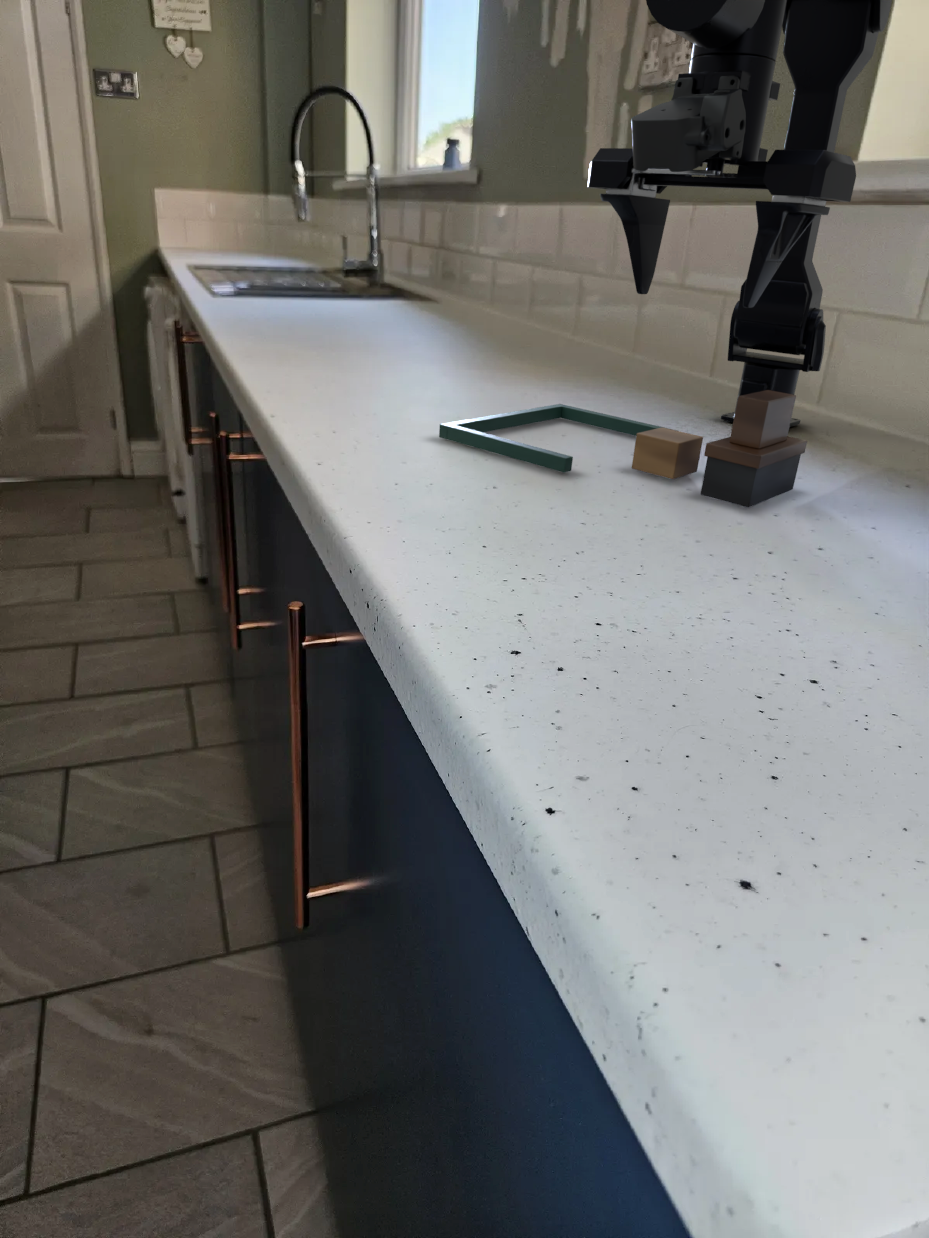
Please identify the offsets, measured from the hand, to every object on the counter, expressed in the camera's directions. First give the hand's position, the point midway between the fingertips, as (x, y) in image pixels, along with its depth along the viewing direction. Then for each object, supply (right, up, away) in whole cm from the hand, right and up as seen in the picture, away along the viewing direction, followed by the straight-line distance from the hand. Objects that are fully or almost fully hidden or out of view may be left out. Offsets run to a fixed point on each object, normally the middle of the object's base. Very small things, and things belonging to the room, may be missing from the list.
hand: (692, 300), depth 67 cm
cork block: (-1, -12, +6) cm, 13 cm away
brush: (+5, -14, +2) cm, 15 cm away
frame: (-8, -8, +13) cm, 18 cm away
